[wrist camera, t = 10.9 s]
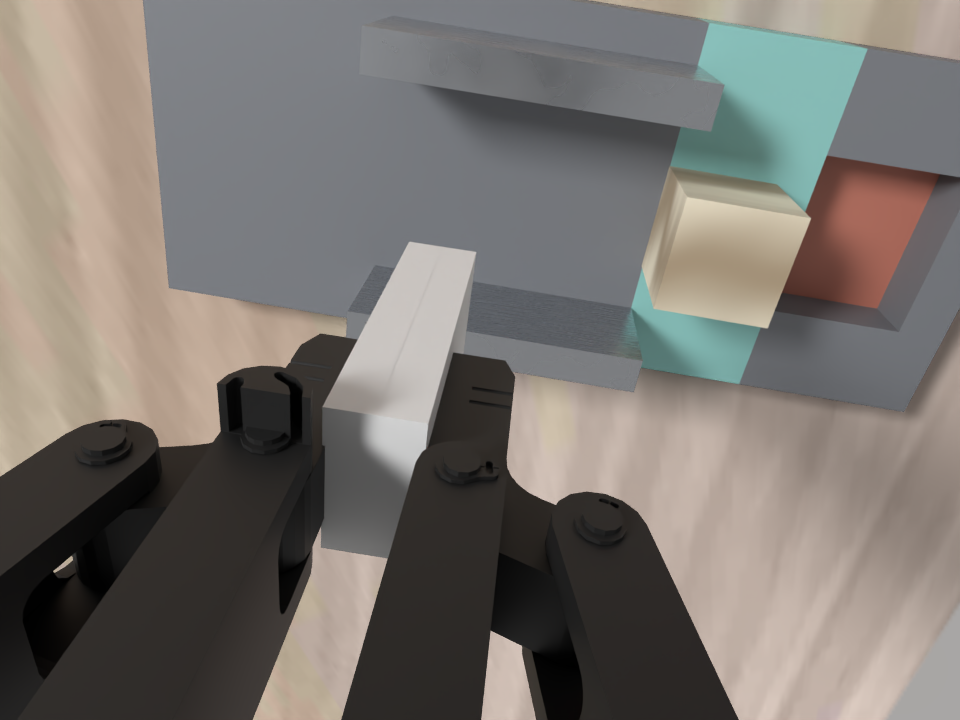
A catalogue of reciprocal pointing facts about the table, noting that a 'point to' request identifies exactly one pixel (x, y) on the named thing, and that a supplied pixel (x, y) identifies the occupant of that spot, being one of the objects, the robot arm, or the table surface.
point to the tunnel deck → (560, 177)
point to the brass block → (722, 247)
